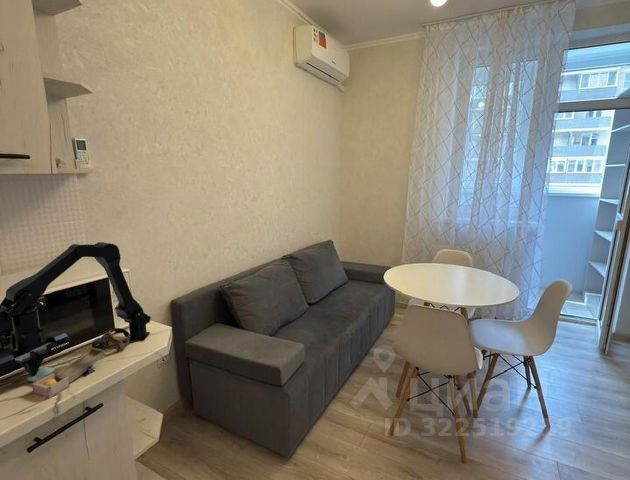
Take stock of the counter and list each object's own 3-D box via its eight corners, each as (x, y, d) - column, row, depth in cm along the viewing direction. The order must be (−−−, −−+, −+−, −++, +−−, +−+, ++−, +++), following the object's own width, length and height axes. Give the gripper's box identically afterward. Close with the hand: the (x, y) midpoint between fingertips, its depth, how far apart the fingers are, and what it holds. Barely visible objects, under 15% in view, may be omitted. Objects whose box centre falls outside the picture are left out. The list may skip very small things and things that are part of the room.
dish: (53, 382, 96) (52, 373, 96) (69, 386, 94) (68, 377, 94) (33, 393, 91) (31, 383, 91) (49, 398, 89) (48, 388, 89)
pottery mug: (113, 341, 123) (123, 324, 122) (127, 358, 119) (138, 339, 119) (81, 348, 112) (91, 328, 111) (95, 366, 108) (106, 346, 107)
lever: (76, 348, 110) (74, 343, 109) (107, 355, 106) (105, 350, 105) (28, 381, 96) (25, 376, 96) (61, 391, 92) (59, 385, 91)
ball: (44, 377, 92) (40, 389, 92) (46, 380, 90) (42, 391, 90) (56, 377, 94) (53, 388, 94) (59, 379, 93) (55, 391, 92)
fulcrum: (83, 368, 104) (82, 362, 104) (95, 371, 102) (94, 365, 102) (73, 373, 101) (73, 367, 101) (86, 376, 100) (85, 370, 99)
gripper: (42, 311, 105) (47, 356, 108) (-34, 336, 88) (-25, 388, 90) (67, 316, 102) (72, 362, 104) (-7, 342, 84) (2, 396, 87)
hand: (33, 375), depth 96 cm, fingers closed
